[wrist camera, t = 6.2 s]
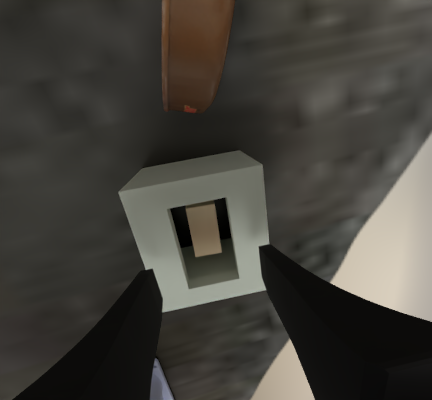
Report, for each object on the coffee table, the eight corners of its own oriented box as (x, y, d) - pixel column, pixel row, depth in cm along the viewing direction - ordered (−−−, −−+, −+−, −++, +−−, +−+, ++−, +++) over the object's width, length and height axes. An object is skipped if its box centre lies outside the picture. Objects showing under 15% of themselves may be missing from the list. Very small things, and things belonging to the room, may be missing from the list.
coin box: (250, 242, 21) (272, 288, 15) (169, 259, 20) (161, 312, 15) (239, 150, 17) (262, 164, 12) (141, 168, 17) (118, 192, 11)
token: (216, 227, 20) (221, 252, 16) (194, 231, 20) (195, 257, 16) (209, 186, 18) (214, 204, 15) (186, 190, 18) (185, 208, 14)
